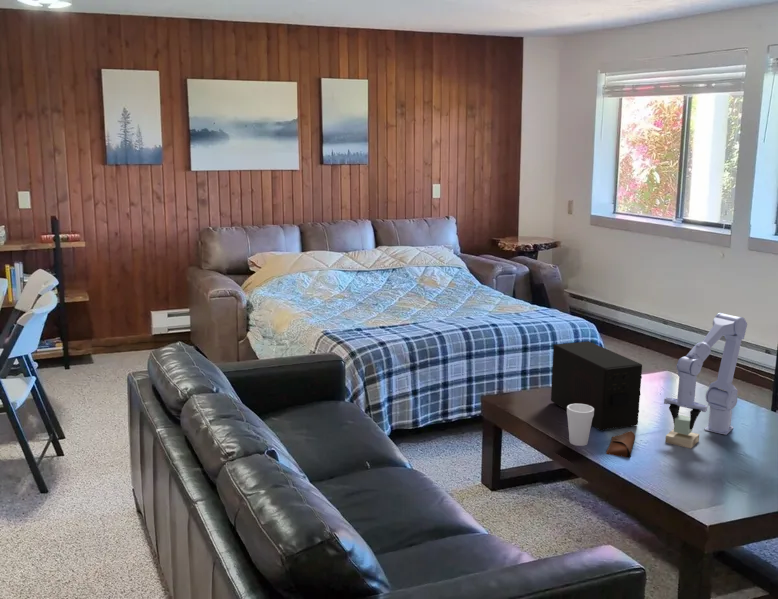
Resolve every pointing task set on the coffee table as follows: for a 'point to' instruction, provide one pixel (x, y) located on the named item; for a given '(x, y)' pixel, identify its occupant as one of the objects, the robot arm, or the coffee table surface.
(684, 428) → the sage cube
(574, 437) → the foam cup
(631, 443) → the sunglasses case
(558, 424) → the coffee table surface
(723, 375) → the robot arm
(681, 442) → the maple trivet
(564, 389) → the black rectangular box
